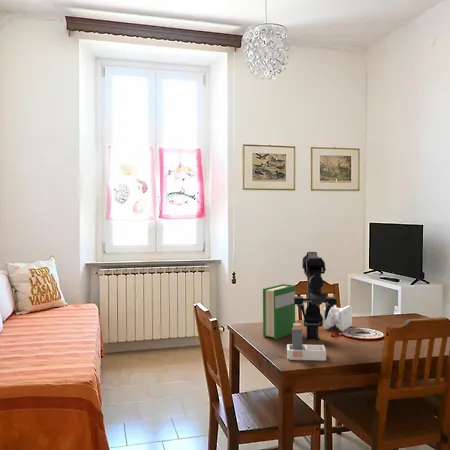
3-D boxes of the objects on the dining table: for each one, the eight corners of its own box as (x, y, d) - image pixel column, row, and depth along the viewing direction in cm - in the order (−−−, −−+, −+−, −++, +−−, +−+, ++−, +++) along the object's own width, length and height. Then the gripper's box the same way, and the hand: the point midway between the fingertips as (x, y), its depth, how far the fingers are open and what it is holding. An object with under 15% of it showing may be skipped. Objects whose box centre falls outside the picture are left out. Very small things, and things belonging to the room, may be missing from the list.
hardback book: (275, 339, 228) (275, 290, 228) (263, 336, 233) (262, 288, 232) (295, 332, 242) (295, 285, 241) (283, 329, 247) (282, 283, 246)
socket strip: (286, 353, 207) (286, 344, 207) (324, 354, 205) (324, 345, 205) (287, 359, 198) (287, 350, 198) (326, 360, 196) (326, 351, 196)
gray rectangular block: (292, 352, 204) (292, 323, 204) (301, 352, 204) (301, 323, 203) (292, 355, 200) (292, 325, 200) (302, 355, 200) (302, 325, 199)
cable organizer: (334, 324, 258) (334, 302, 257) (353, 326, 251) (353, 304, 251) (323, 330, 245) (323, 307, 245) (342, 333, 239) (342, 310, 239)
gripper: (294, 288, 206) (295, 323, 207) (338, 288, 204) (338, 324, 205) (293, 284, 217) (294, 317, 218) (335, 284, 215) (335, 318, 216)
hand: (315, 319), depth 214 cm, fingers open, 9 cm apart
